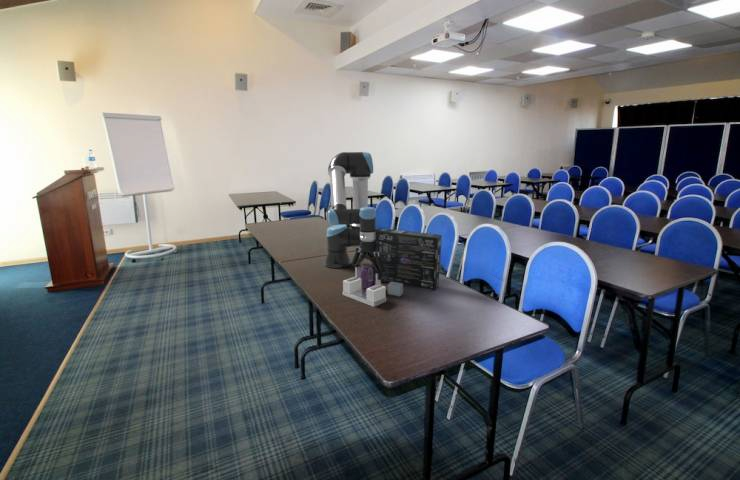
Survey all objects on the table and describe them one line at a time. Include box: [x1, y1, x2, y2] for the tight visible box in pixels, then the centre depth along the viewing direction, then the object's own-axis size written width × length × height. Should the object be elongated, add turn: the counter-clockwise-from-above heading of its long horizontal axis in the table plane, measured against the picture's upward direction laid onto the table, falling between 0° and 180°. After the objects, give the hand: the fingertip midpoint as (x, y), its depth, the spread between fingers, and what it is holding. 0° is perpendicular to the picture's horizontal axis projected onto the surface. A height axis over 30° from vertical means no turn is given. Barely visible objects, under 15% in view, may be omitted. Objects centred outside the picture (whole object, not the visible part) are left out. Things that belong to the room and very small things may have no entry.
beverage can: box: [360, 262, 376, 290], centre depth 178 cm, size 7×7×12 cm
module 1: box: [342, 276, 362, 293], centre depth 172 cm, size 8×4×6 cm, turn 137°
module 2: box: [366, 284, 387, 302], centre depth 162 cm, size 8×4×6 cm, turn 137°
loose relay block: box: [387, 282, 404, 297], centre depth 172 cm, size 4×6×5 cm, turn 62°
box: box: [375, 228, 442, 291], centre depth 183 cm, size 33×7×27 cm, turn 65°
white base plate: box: [342, 289, 387, 308], centre depth 167 cm, size 8×20×2 cm, turn 47°
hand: (367, 282), depth 178 cm, fingers open, 13 cm apart
